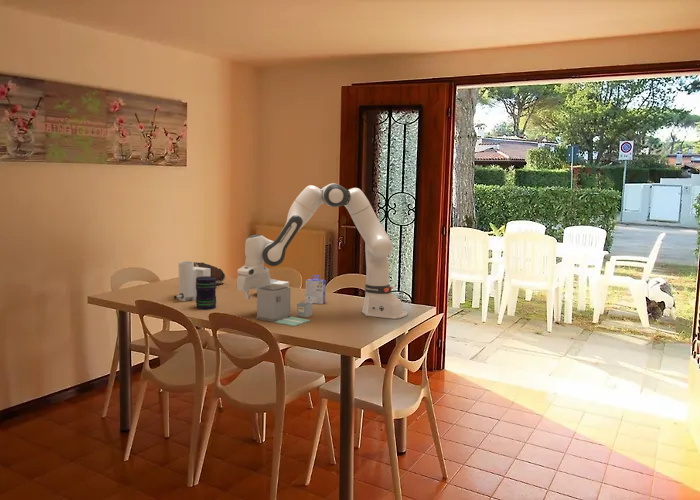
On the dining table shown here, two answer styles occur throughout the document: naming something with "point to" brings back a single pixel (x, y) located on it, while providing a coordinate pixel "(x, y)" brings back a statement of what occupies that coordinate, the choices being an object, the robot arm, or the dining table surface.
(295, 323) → the mat
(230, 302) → the dining table surface
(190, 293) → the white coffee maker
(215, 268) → the clay pot
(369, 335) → the dining table surface
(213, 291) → the storage jar
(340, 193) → the robot arm
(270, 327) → the dining table surface
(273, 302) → the grey latched box
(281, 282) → the small box
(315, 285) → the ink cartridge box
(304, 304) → the block
